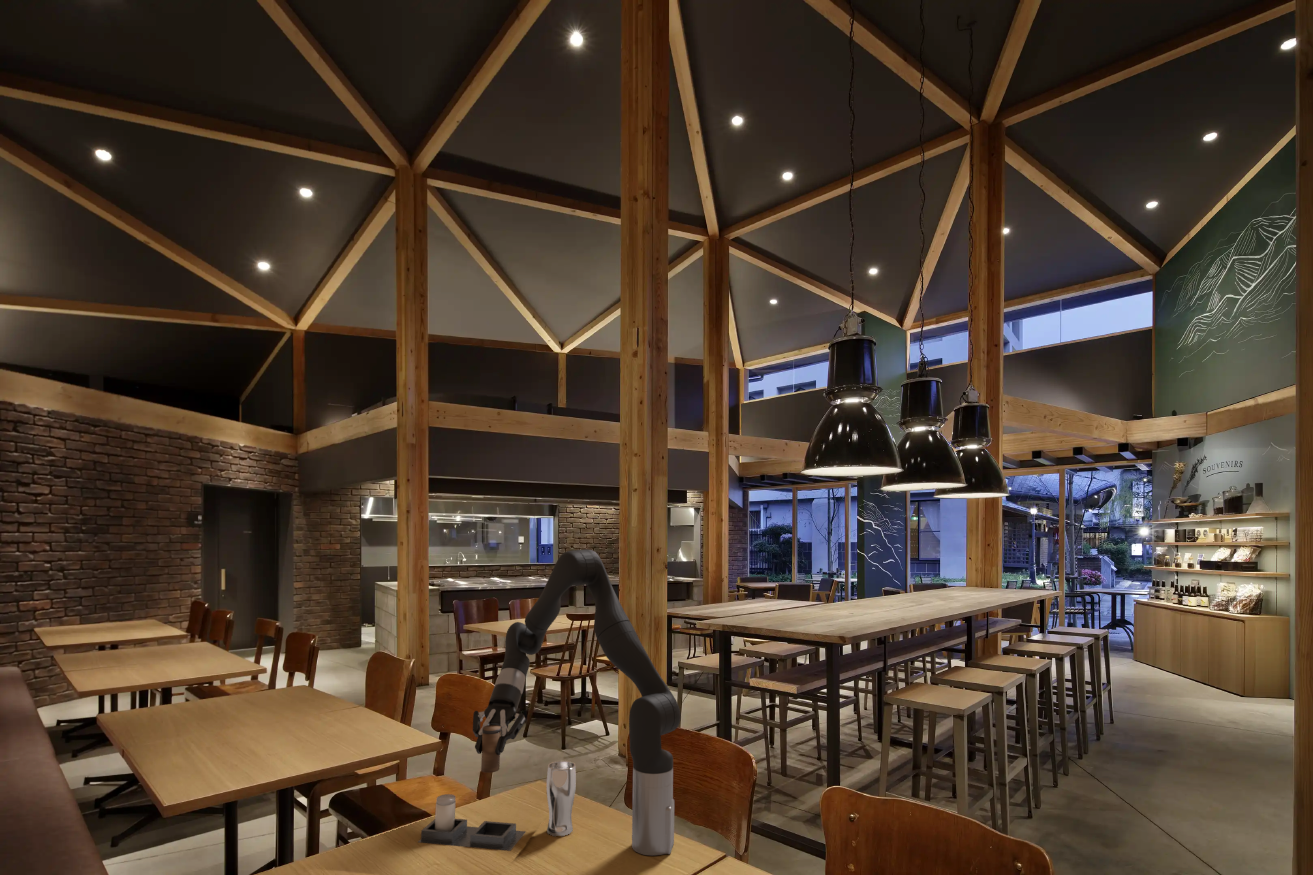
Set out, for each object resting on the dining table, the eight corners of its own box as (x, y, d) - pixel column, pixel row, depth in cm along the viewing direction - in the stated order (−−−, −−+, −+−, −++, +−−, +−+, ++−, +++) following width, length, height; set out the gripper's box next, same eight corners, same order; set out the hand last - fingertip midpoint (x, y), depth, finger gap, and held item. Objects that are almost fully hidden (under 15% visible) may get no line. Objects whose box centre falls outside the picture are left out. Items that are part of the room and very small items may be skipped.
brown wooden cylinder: (502, 766, 175) (503, 725, 177) (495, 773, 171) (496, 730, 172) (485, 765, 176) (486, 724, 177) (477, 771, 172) (479, 729, 173)
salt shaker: (457, 830, 164) (459, 794, 165) (448, 838, 160) (450, 801, 161) (439, 829, 165) (441, 793, 166) (430, 837, 161) (432, 800, 162)
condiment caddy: (525, 835, 164) (526, 822, 165) (510, 855, 155) (510, 840, 155) (438, 828, 168) (438, 814, 168) (417, 846, 158) (418, 832, 159)
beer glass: (577, 825, 170) (579, 760, 172) (570, 838, 163) (572, 770, 165) (549, 824, 171) (551, 759, 173) (541, 836, 164) (543, 769, 166)
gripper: (478, 680, 184) (456, 742, 171) (530, 683, 182) (511, 746, 169) (486, 697, 189) (464, 758, 176) (536, 699, 187) (519, 762, 173)
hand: (488, 752), depth 172 cm, fingers closed on brown wooden cylinder, 4 cm apart
